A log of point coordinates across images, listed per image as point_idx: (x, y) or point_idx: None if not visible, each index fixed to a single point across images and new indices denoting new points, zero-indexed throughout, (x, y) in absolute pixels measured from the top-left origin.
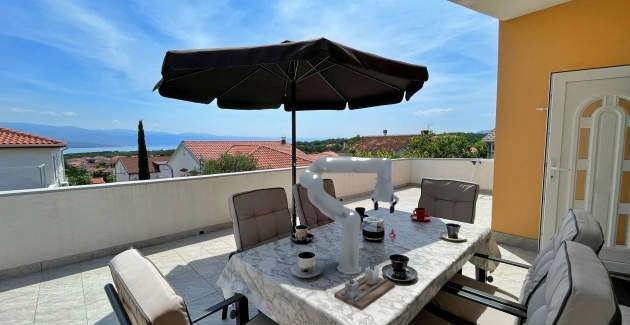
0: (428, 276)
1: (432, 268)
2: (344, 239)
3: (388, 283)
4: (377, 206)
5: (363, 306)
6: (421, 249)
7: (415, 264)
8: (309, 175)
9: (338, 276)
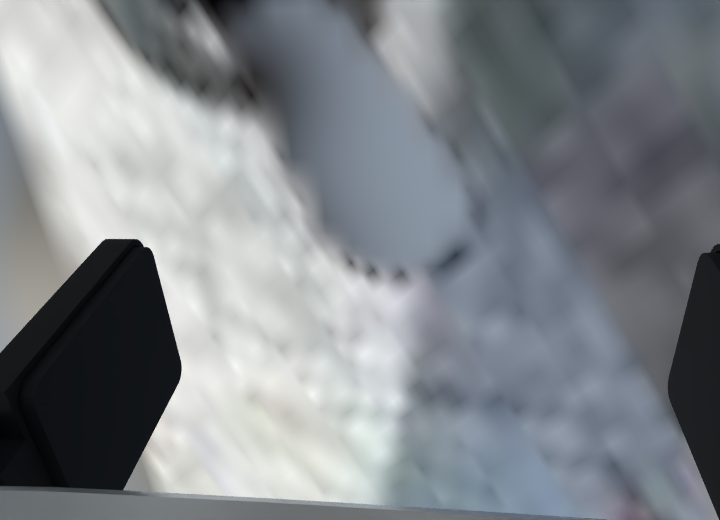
0: (29, 42)
1: (109, 198)
2: None
3: None
4: (717, 441)
5: None
6: (358, 442)
7: (226, 178)
8: None
9: None
